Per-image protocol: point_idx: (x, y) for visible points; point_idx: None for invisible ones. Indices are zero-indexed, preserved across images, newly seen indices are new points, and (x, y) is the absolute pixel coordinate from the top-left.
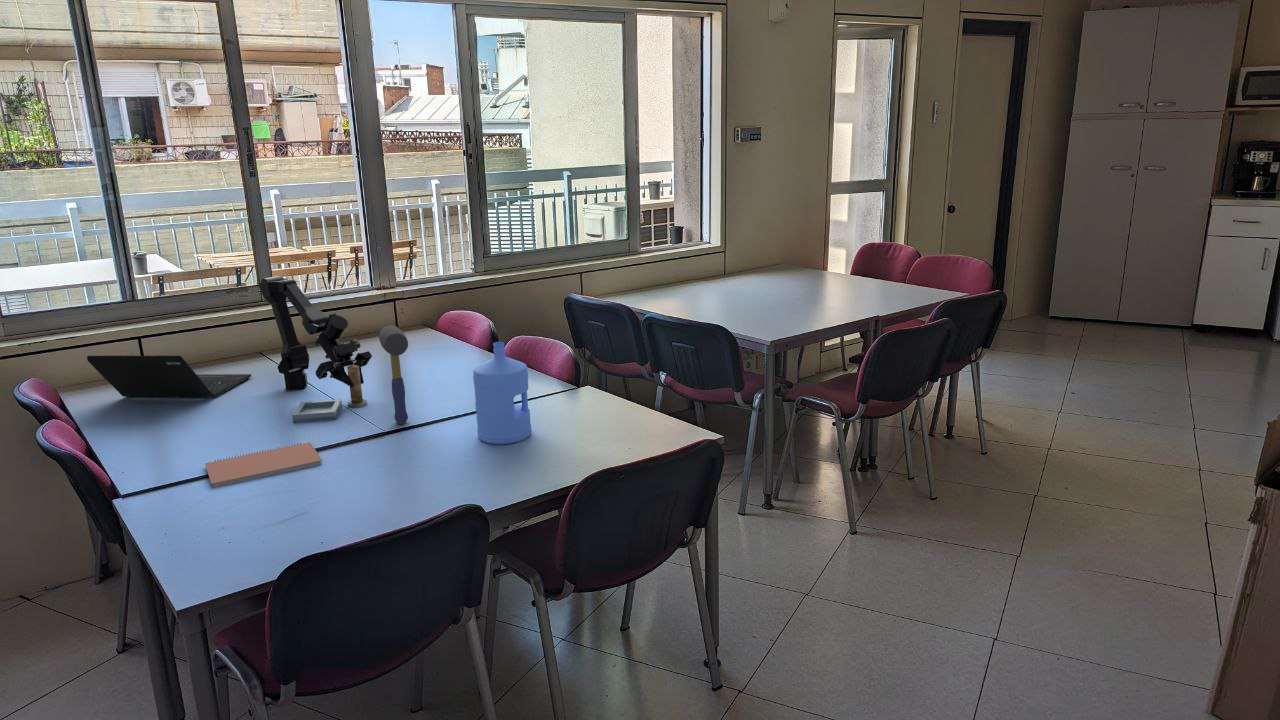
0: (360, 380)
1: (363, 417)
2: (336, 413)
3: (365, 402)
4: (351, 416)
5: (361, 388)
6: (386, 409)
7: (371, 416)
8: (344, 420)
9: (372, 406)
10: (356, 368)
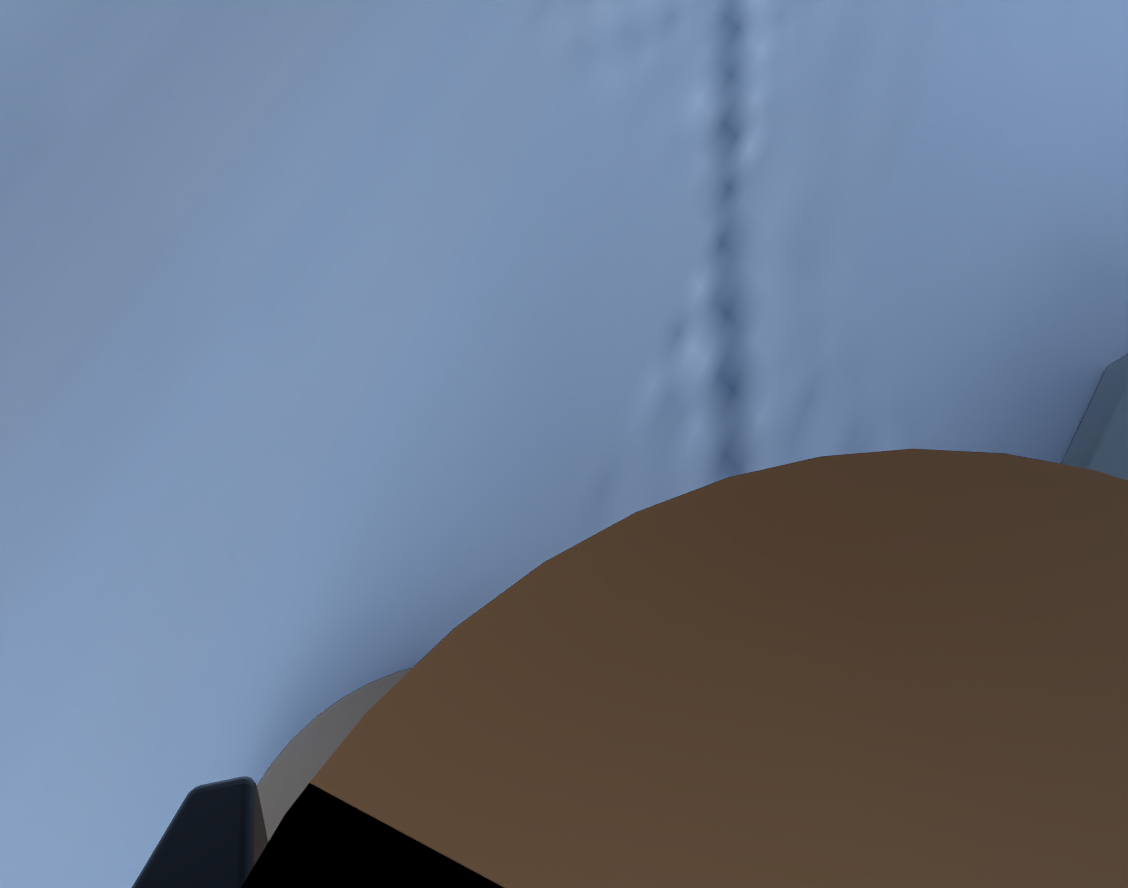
0: (337, 818)
1: (715, 111)
2: (1112, 431)
3: (342, 699)
4: (851, 302)
5: (328, 845)
6: (204, 142)
7: (595, 53)
8: (1003, 223)
9: (287, 511)
10: (807, 485)
